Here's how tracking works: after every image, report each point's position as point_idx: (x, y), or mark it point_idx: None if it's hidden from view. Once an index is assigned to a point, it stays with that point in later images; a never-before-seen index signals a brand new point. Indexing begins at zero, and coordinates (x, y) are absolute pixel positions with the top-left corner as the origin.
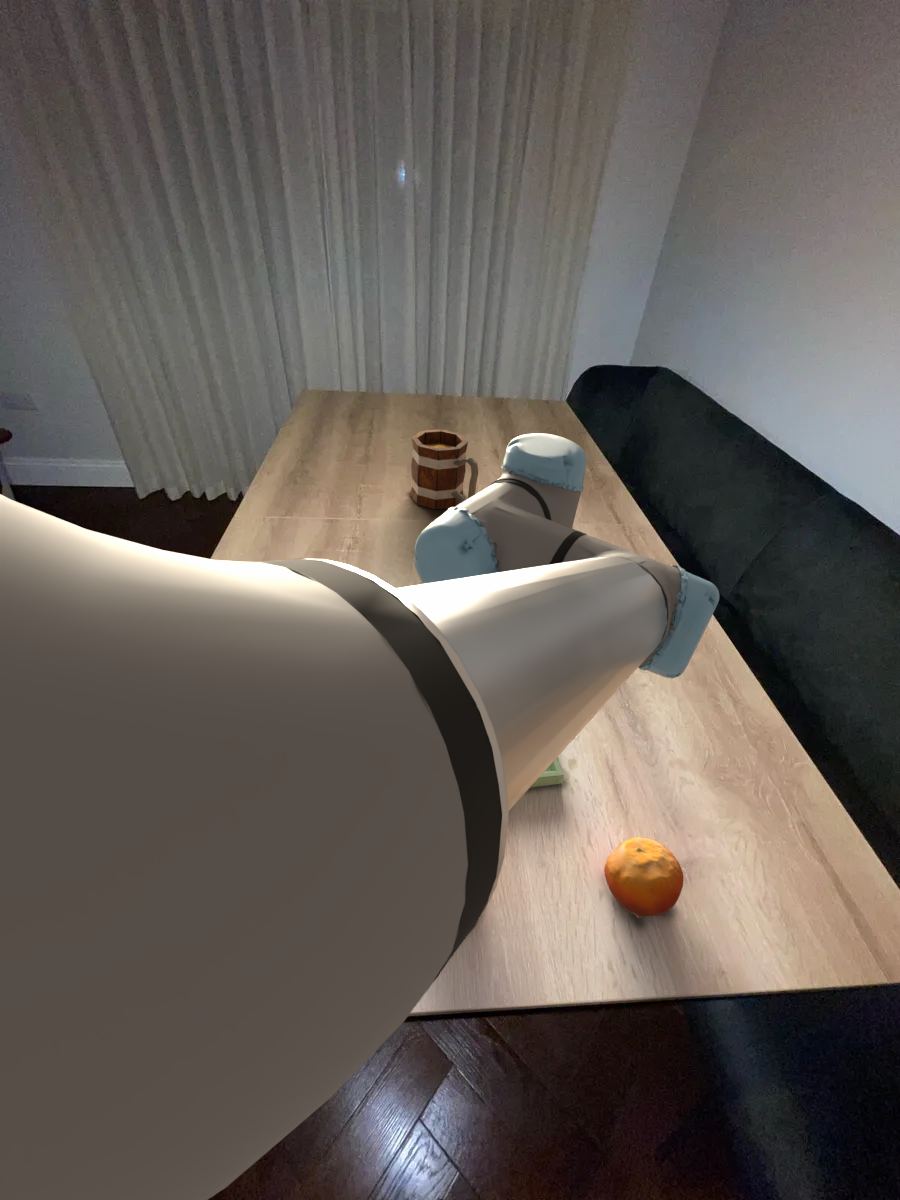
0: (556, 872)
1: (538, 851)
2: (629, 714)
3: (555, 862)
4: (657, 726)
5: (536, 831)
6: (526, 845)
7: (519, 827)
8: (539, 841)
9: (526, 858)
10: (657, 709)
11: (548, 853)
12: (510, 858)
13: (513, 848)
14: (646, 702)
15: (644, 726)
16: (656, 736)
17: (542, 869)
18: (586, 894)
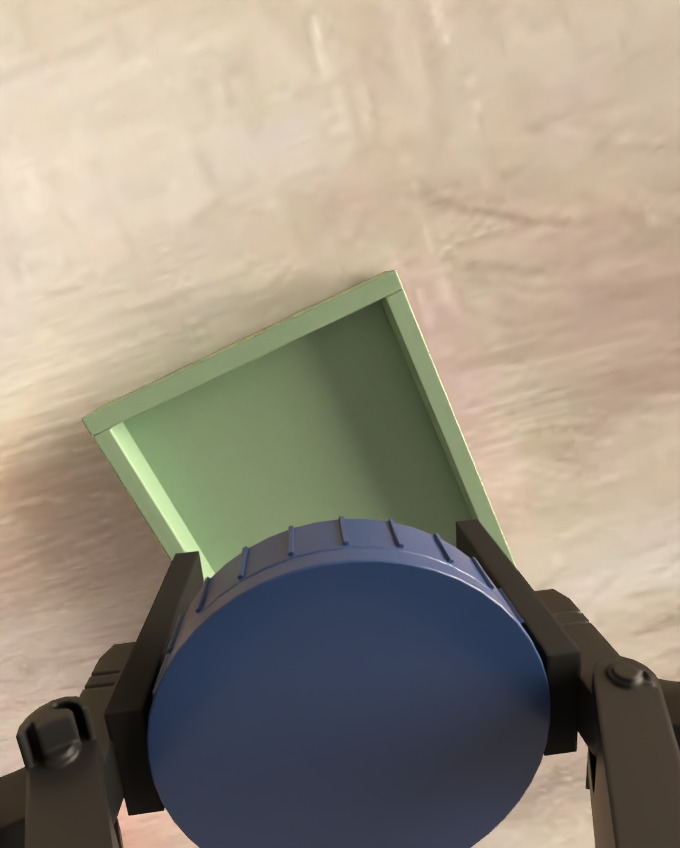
0: (22, 699)
1: (55, 656)
2: (536, 786)
3: (45, 693)
4: (512, 842)
5: (105, 643)
6: (57, 629)
7: (98, 605)
8: (82, 653)
9: (23, 635)
10: (567, 838)
11: (60, 676)
12: (5, 601)
13: (34, 603)
14: (586, 816)
15: (505, 818)
16: (480, 842)
17: (14, 671)
18: (3, 759)
